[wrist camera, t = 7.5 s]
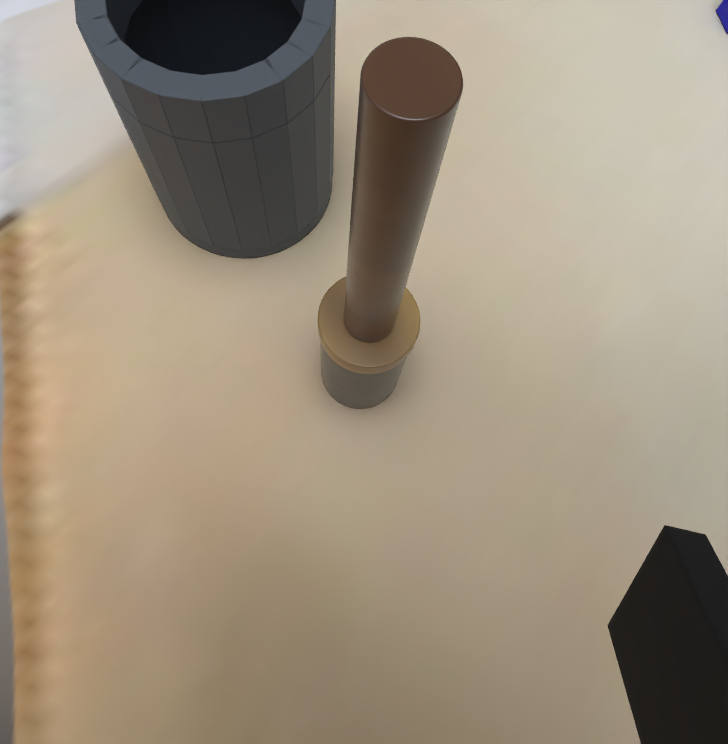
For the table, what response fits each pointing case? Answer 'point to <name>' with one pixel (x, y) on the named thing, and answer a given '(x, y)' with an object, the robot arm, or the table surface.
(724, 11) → the cable holder
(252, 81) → the grey cylindrical holder
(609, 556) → the table surface
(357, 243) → the brush
